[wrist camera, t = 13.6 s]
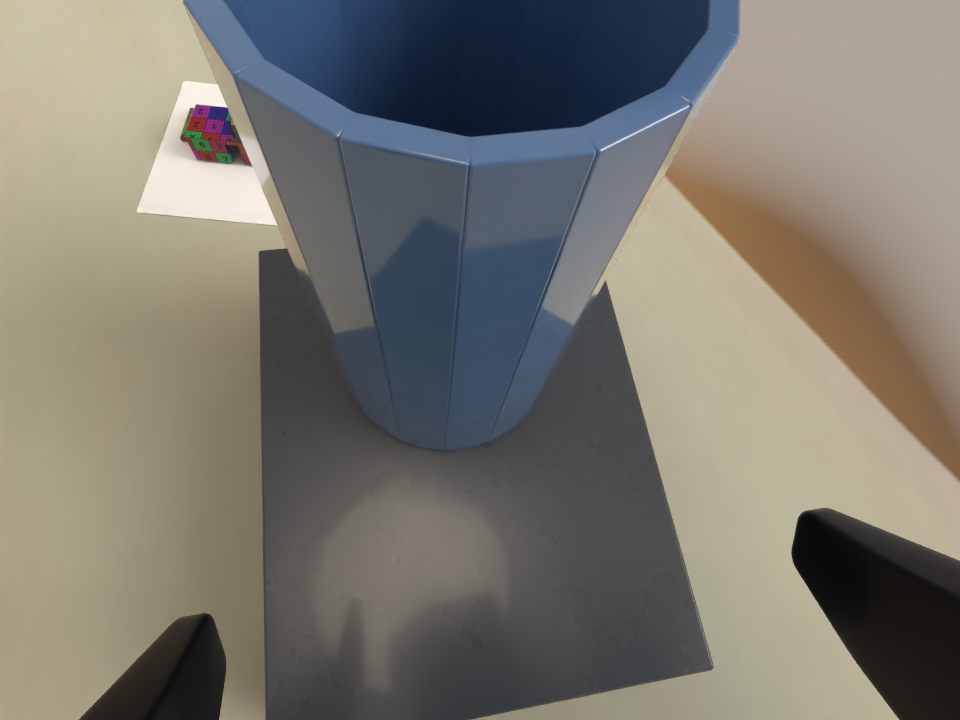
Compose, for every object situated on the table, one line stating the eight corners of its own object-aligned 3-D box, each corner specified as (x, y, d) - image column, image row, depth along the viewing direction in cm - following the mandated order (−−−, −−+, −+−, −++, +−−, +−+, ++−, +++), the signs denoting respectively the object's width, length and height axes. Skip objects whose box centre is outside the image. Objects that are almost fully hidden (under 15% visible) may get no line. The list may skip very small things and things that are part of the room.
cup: (589, 379, 18) (853, 23, 7) (411, 493, 16) (363, 270, 5) (475, 231, 20) (532, -244, 9) (304, 318, 18) (89, -138, 7)
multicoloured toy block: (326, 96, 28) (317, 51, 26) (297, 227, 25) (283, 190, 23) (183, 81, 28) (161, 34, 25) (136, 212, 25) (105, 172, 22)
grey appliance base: (655, 652, 19) (716, 670, 15) (304, 722, 18) (265, 762, 14) (561, 273, 25) (587, 211, 21) (288, 300, 24) (257, 238, 19)
